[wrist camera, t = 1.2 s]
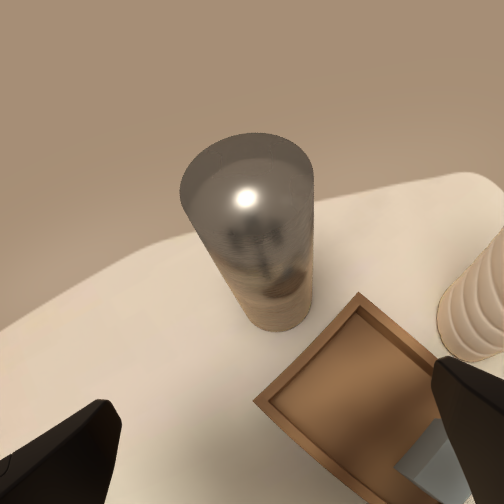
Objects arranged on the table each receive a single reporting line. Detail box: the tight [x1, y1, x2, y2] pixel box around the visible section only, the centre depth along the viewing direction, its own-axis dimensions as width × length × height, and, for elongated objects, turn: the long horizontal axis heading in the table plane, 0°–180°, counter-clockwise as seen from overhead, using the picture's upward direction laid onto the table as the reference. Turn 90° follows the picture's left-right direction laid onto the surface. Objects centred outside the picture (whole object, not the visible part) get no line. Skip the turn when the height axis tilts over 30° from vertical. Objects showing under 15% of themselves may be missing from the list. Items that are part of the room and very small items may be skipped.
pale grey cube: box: [393, 418, 472, 504], centre depth 12 cm, size 4×4×4 cm
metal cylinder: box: [180, 133, 314, 332], centre depth 17 cm, size 5×5×13 cm
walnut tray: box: [253, 292, 442, 504], centre depth 16 cm, size 15×9×3 cm, turn 44°
